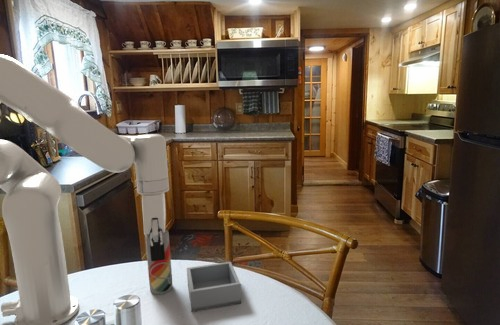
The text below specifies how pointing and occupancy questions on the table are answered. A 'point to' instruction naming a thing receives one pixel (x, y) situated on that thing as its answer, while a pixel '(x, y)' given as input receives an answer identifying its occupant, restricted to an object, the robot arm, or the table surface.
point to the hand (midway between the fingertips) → (158, 251)
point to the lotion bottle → (159, 267)
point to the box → (213, 286)
